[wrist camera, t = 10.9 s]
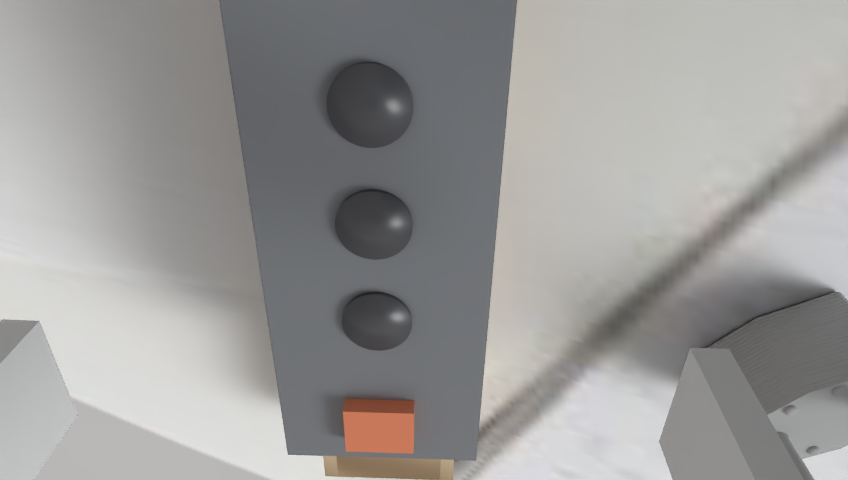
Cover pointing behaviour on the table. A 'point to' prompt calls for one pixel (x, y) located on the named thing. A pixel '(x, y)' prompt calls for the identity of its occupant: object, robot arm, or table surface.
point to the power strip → (374, 211)
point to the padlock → (799, 373)
